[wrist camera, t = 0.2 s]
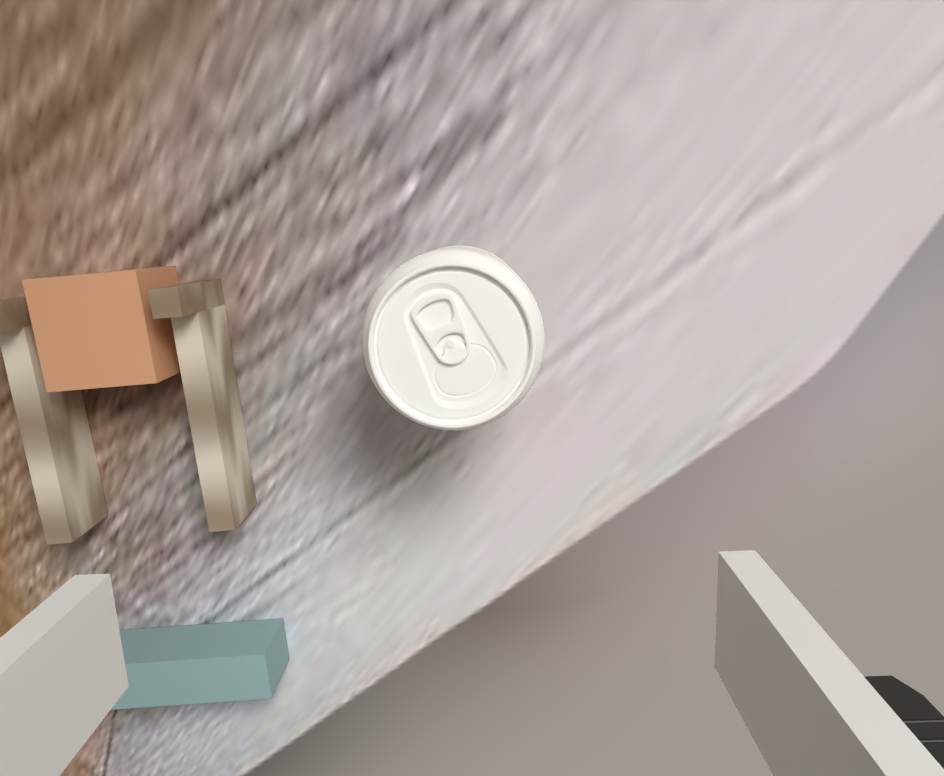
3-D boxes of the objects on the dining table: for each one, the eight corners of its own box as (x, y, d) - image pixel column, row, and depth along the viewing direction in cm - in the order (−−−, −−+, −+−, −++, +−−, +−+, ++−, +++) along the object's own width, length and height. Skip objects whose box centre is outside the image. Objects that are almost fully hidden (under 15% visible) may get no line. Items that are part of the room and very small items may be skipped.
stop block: (102, 631, 46) (67, 668, 42) (283, 618, 46) (264, 654, 42) (111, 672, 47) (77, 712, 43) (289, 659, 46) (271, 698, 42)
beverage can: (428, 404, 42) (409, 468, 31) (367, 282, 41) (321, 302, 29) (550, 347, 42) (578, 391, 30) (492, 221, 40) (497, 215, 28)
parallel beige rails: (36, 295, 41) (-37, 305, 35) (220, 279, 41) (177, 286, 35) (85, 517, 44) (24, 560, 38) (256, 503, 44) (222, 545, 38)
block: (76, 274, 41) (21, 279, 36) (176, 265, 41) (135, 269, 36) (96, 374, 42) (46, 392, 38) (194, 365, 42) (156, 383, 37)
